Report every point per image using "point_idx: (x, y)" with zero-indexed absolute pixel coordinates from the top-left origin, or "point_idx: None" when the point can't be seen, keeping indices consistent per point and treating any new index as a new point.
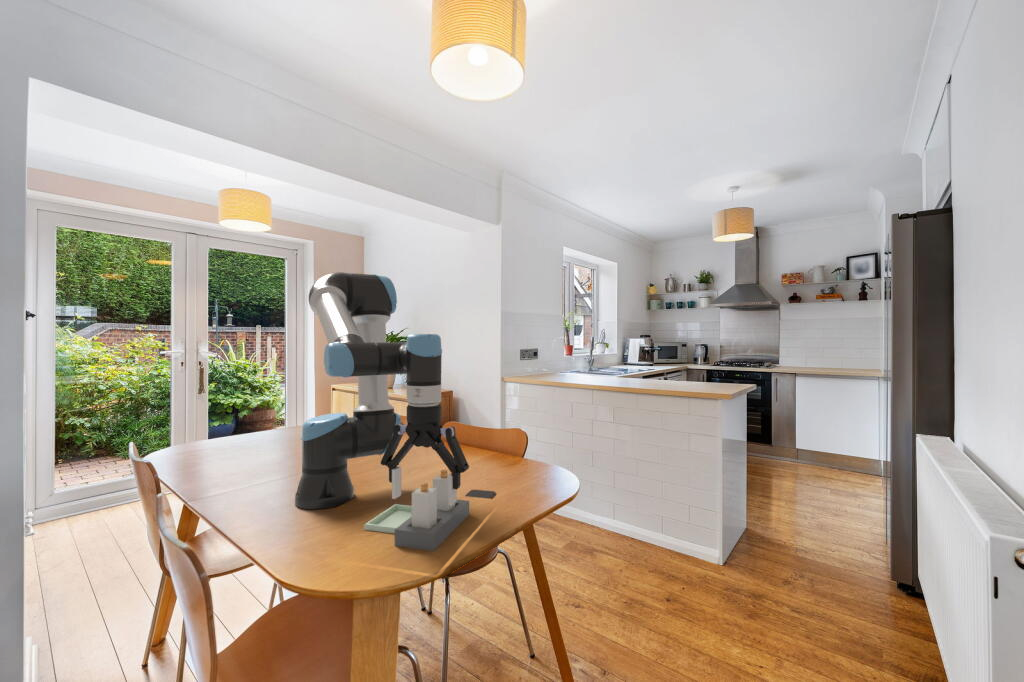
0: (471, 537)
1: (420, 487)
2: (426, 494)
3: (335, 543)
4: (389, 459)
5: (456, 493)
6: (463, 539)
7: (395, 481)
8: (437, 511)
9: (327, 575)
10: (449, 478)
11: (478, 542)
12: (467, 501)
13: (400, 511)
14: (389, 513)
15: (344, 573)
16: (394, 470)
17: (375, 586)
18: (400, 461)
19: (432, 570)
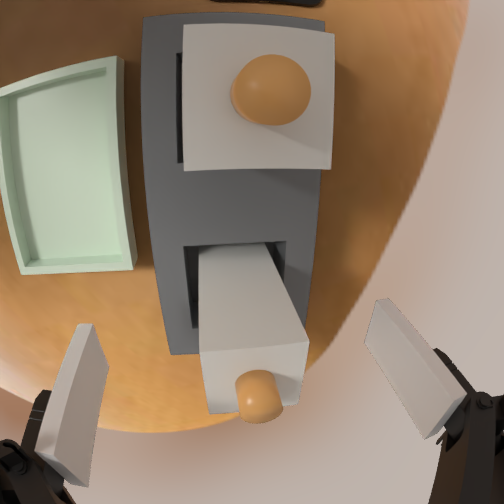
0: (359, 195)
1: (204, 356)
2: (287, 404)
3: (32, 329)
4: (6, 494)
5: (406, 320)
6: (340, 214)
7: (94, 430)
8: (232, 174)
9: (134, 413)
10: (421, 425)
11: (382, 220)
12: (319, 29)
13: (28, 100)
14: (9, 139)
15: (154, 405)
16: (86, 484)
17: (235, 414)
18: (49, 489)
19: (311, 358)
